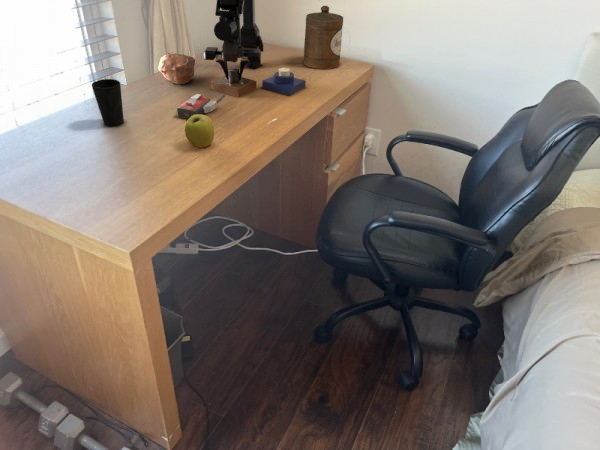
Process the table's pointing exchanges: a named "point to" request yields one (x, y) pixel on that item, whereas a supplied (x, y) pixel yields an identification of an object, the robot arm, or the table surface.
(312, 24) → the wooden container
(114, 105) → the cup
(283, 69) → the cap
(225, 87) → the dial panel
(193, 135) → the apple
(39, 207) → the table surface
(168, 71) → the decorative rock
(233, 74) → the dial
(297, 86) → the button housing
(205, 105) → the walkie-talkie
